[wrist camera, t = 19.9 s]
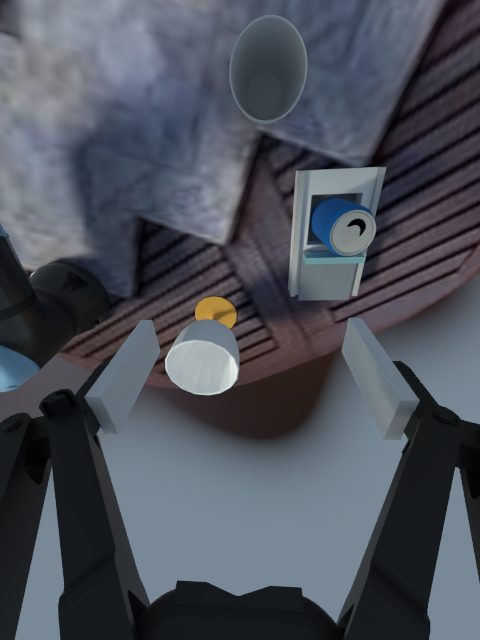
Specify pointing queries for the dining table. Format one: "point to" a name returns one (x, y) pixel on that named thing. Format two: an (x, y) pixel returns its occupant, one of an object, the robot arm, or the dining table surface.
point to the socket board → (317, 187)
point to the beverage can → (343, 226)
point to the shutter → (326, 275)
